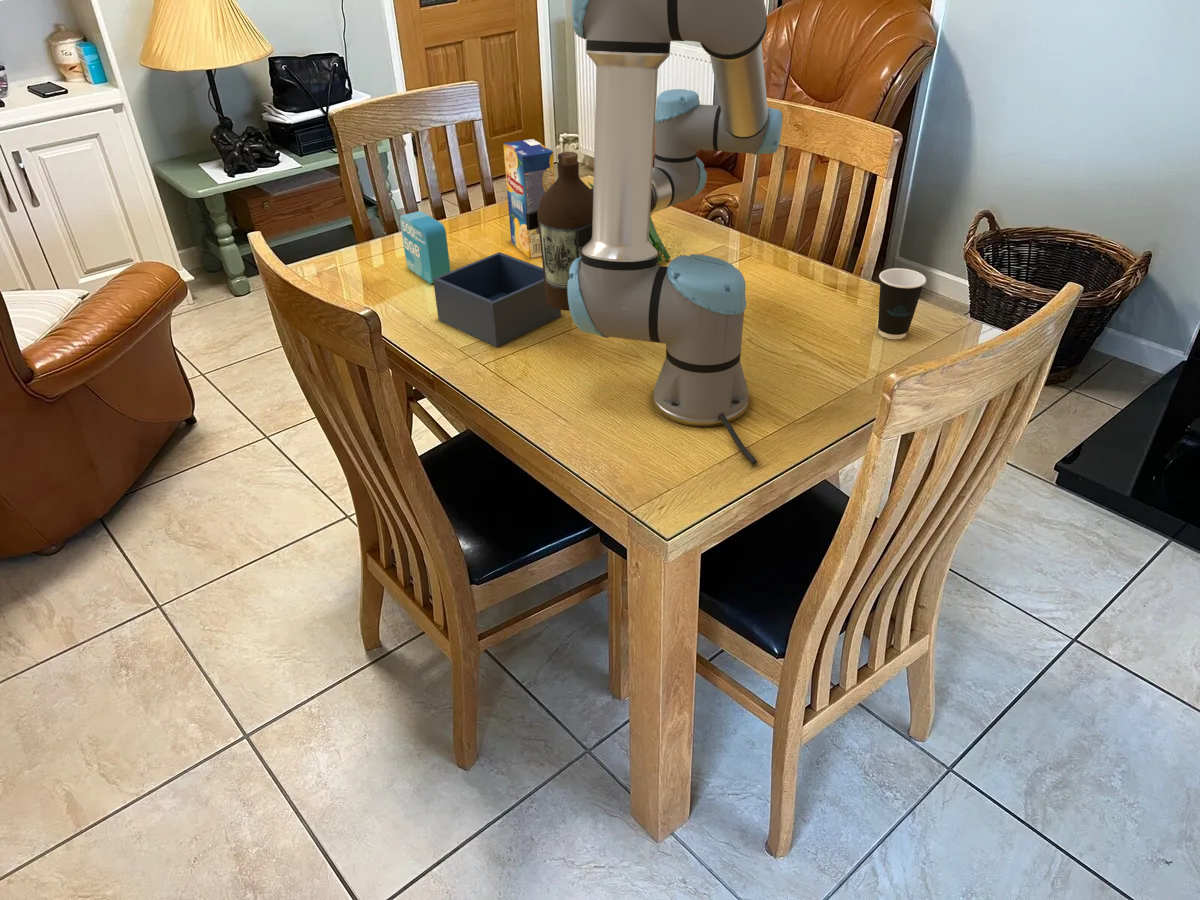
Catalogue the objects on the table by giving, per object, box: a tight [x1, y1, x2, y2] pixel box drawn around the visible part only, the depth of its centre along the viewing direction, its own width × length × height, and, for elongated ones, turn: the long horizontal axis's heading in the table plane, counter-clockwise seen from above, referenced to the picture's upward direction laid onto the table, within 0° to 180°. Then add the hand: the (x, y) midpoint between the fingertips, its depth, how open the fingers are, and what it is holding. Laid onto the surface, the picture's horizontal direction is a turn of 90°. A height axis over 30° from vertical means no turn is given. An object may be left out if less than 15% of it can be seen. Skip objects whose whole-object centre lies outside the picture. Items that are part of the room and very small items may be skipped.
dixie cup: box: [877, 267, 927, 340], centre depth 159 cm, size 8×8×11 cm
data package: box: [399, 210, 452, 285], centre depth 184 cm, size 12×4×12 cm, turn 36°
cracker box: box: [502, 138, 556, 259], centre depth 193 cm, size 7×11×22 cm, turn 26°
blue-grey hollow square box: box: [432, 251, 562, 348], centre depth 168 cm, size 17×17×9 cm
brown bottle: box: [537, 151, 593, 312], centre depth 147 cm, size 11×11×25 cm
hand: (552, 230), depth 144 cm, fingers closed on brown bottle, 11 cm apart
